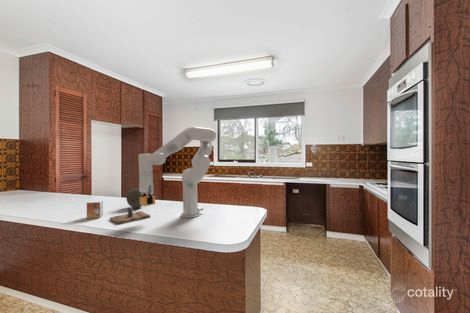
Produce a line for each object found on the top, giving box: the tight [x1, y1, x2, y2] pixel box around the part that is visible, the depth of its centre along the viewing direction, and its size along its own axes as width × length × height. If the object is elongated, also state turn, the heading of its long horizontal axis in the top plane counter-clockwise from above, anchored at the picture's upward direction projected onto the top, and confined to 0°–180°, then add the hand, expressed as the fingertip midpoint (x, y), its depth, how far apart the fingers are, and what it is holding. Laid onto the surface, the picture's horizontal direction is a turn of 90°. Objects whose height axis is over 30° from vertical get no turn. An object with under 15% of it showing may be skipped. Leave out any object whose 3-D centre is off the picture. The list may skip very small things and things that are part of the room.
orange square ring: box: [140, 195, 156, 207], centre depth 136 cm, size 7×7×4 cm
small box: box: [86, 199, 104, 219], centre depth 147 cm, size 8×6×10 cm
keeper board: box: [109, 206, 151, 226], centre depth 143 cm, size 20×14×7 cm
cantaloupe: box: [125, 187, 143, 209], centre depth 171 cm, size 14×14×15 cm
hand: (147, 202), depth 136 cm, fingers closed on orange square ring, 6 cm apart
